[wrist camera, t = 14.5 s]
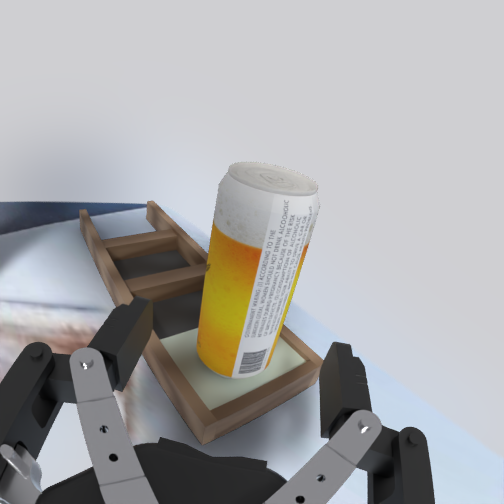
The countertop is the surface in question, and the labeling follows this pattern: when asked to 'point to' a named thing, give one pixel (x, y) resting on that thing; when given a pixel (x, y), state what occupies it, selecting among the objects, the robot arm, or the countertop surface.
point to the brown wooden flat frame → (192, 328)
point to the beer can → (253, 265)
